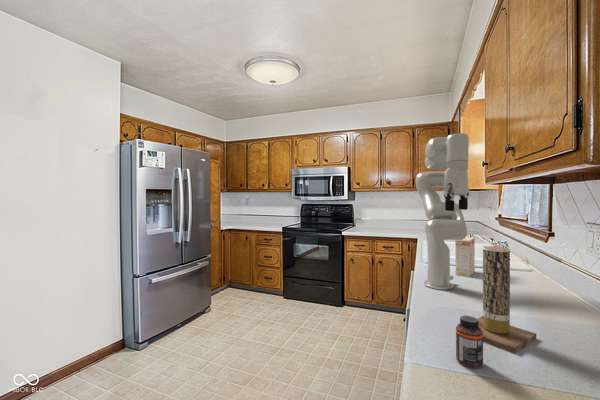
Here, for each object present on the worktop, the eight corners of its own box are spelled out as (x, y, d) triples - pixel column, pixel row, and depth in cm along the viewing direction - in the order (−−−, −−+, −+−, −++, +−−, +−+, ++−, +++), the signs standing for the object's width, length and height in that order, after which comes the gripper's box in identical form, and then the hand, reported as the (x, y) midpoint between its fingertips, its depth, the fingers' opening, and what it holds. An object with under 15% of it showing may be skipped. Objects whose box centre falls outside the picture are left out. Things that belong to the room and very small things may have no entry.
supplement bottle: (459, 353, 78) (459, 311, 78) (485, 362, 74) (485, 317, 74) (453, 363, 73) (453, 318, 73) (480, 372, 69) (480, 325, 69)
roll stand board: (482, 320, 98) (482, 316, 98) (536, 338, 86) (536, 333, 86) (458, 332, 90) (458, 327, 90) (514, 353, 78) (514, 348, 78)
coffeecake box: (461, 269, 168) (461, 236, 168) (475, 271, 163) (475, 237, 163) (454, 275, 157) (454, 239, 157) (469, 277, 152) (469, 240, 152)
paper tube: (498, 324, 92) (498, 246, 92) (515, 335, 85) (515, 250, 85) (477, 325, 92) (477, 246, 91) (492, 335, 85) (493, 250, 85)
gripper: (459, 167, 120) (458, 208, 121) (435, 166, 111) (434, 210, 111) (478, 166, 114) (477, 209, 115) (454, 164, 104) (454, 211, 105)
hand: (456, 210), depth 113 cm, fingers open, 9 cm apart
